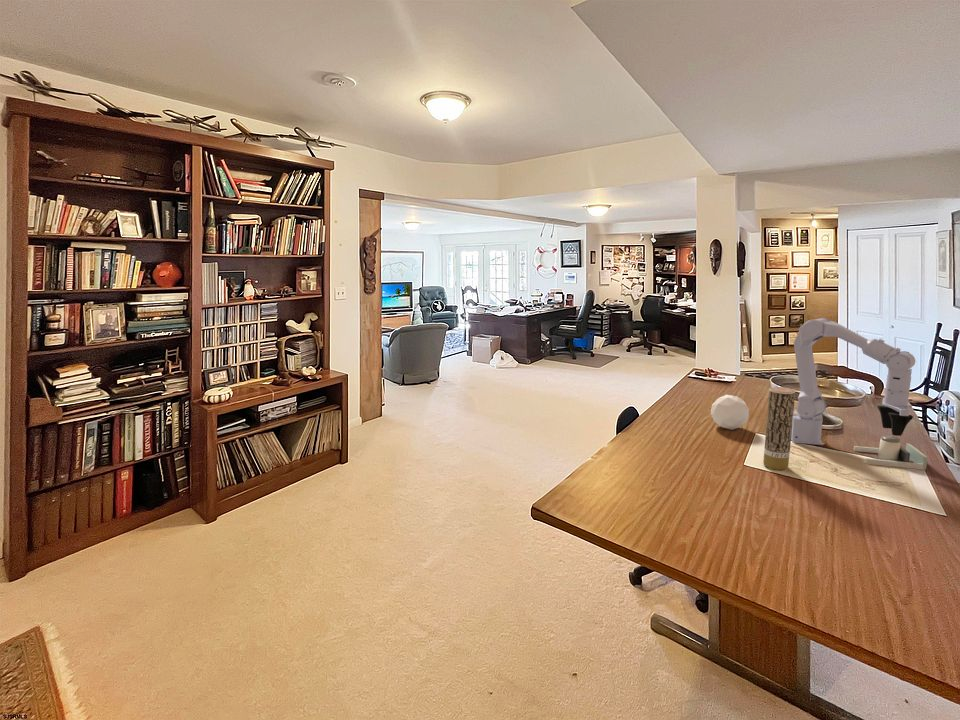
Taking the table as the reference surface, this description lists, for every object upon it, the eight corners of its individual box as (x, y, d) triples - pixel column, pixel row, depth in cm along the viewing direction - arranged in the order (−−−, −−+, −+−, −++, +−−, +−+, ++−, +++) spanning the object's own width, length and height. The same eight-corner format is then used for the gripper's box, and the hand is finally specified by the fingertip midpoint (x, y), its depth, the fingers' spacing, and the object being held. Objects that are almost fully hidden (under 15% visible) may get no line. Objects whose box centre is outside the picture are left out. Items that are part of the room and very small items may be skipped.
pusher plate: (904, 465, 151) (906, 452, 150) (891, 453, 160) (893, 442, 160) (908, 465, 151) (910, 453, 150) (895, 454, 160) (896, 442, 159)
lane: (866, 463, 154) (868, 451, 153) (853, 450, 165) (854, 438, 165) (925, 469, 148) (927, 457, 148) (908, 455, 160) (909, 443, 159)
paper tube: (758, 463, 156) (764, 387, 152) (778, 461, 157) (785, 386, 152) (772, 471, 149) (779, 392, 145) (793, 470, 150) (800, 391, 146)
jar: (881, 461, 155) (884, 439, 154) (875, 455, 160) (878, 434, 159) (900, 463, 154) (903, 441, 152) (894, 457, 158) (897, 436, 157)
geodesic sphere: (698, 407, 200) (711, 386, 190) (729, 405, 201) (744, 384, 191) (713, 436, 190) (727, 416, 180) (745, 434, 192) (762, 414, 182)
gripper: (924, 396, 145) (917, 440, 147) (903, 386, 158) (897, 426, 160) (894, 395, 147) (888, 437, 150) (876, 384, 160) (871, 424, 163)
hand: (891, 431), depth 155 cm, fingers open, 7 cm apart
